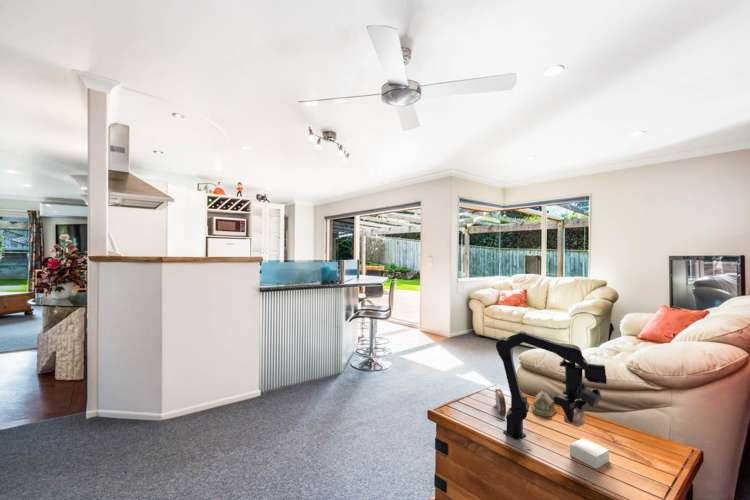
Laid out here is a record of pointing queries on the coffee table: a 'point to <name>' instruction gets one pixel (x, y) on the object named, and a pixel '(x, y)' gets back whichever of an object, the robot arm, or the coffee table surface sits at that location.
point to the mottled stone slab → (500, 401)
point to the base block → (589, 453)
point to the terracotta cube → (576, 418)
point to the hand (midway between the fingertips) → (574, 420)
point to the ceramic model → (543, 405)
